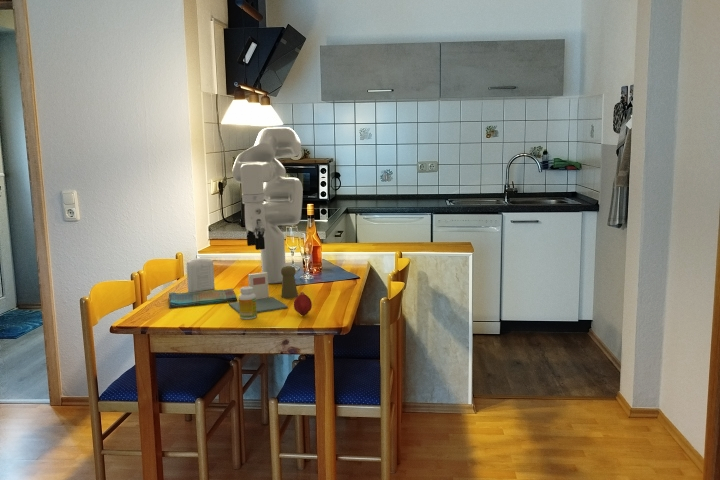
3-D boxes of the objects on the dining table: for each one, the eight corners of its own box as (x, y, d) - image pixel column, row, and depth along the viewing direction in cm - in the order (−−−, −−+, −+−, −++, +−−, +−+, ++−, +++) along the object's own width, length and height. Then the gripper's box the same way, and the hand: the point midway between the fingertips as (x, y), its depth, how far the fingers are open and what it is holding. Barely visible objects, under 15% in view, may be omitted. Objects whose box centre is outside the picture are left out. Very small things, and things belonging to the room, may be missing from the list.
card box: (267, 296, 244) (265, 271, 243) (269, 297, 242) (267, 273, 241) (249, 298, 241) (248, 274, 240) (251, 300, 239) (249, 275, 238)
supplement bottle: (256, 319, 215) (254, 289, 213) (239, 320, 215) (237, 290, 213) (257, 314, 220) (255, 285, 219) (240, 315, 220) (238, 286, 218)
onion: (294, 313, 220) (293, 289, 219) (312, 312, 220) (311, 288, 219) (294, 318, 214) (292, 294, 213) (312, 317, 215) (311, 293, 213)
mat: (273, 298, 240) (273, 296, 240) (287, 308, 227) (287, 306, 227) (229, 305, 233) (228, 303, 233) (241, 315, 220) (241, 313, 220)
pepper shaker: (300, 295, 244) (299, 265, 242) (293, 299, 239) (292, 268, 237) (285, 294, 246) (284, 264, 244) (278, 298, 241) (276, 268, 239)
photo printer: (212, 287, 261) (210, 255, 259) (216, 289, 258) (214, 257, 255) (186, 291, 256) (184, 259, 253) (190, 293, 252) (187, 261, 250)
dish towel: (168, 298, 248) (167, 291, 247) (233, 292, 254) (232, 285, 254) (169, 310, 232) (168, 303, 231) (238, 303, 238) (237, 296, 237)
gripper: (271, 200, 230) (274, 249, 232) (256, 196, 245) (258, 243, 248) (250, 201, 227) (252, 252, 229) (235, 197, 242) (238, 245, 245)
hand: (255, 247), depth 239 cm, fingers open, 9 cm apart
